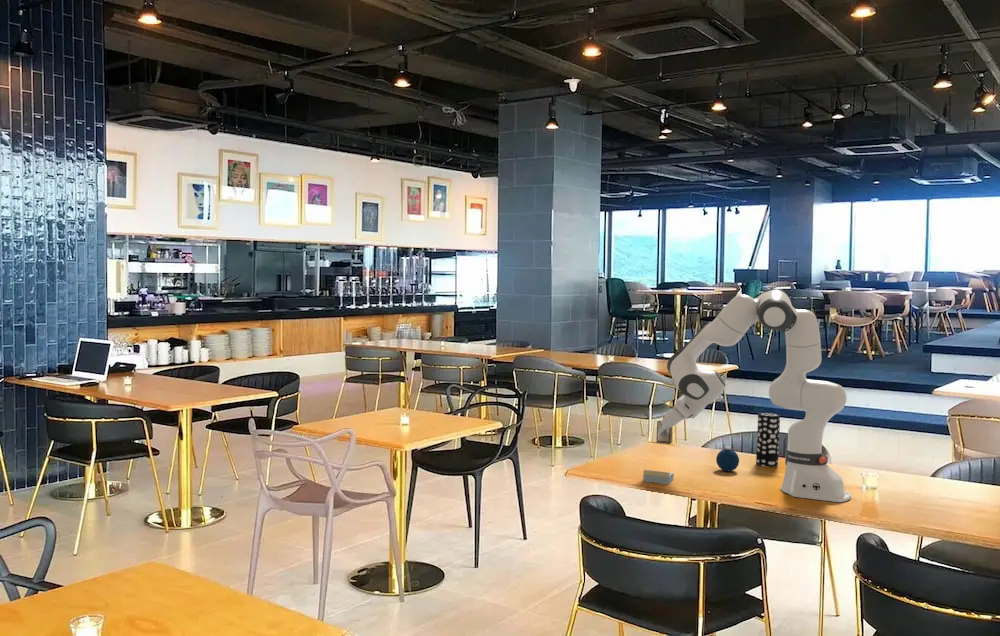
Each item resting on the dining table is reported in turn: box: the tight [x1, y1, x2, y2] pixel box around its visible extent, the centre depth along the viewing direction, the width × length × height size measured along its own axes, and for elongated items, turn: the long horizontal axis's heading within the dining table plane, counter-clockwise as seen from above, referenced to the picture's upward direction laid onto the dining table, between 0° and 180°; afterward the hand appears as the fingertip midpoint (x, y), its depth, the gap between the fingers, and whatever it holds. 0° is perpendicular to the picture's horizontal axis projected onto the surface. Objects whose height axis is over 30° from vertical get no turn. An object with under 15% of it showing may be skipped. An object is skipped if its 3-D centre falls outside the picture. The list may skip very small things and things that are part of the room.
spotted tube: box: [755, 412, 781, 468], centre depth 332 cm, size 8×8×20 cm
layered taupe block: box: [655, 419, 673, 445], centre depth 309 cm, size 5×3×8 cm, turn 65°
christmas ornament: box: [715, 445, 740, 472], centre depth 319 cm, size 8×8×10 cm
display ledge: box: [642, 469, 675, 485], centre depth 300 cm, size 9×8×4 cm
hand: (660, 430), depth 310 cm, fingers closed on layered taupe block, 3 cm apart
